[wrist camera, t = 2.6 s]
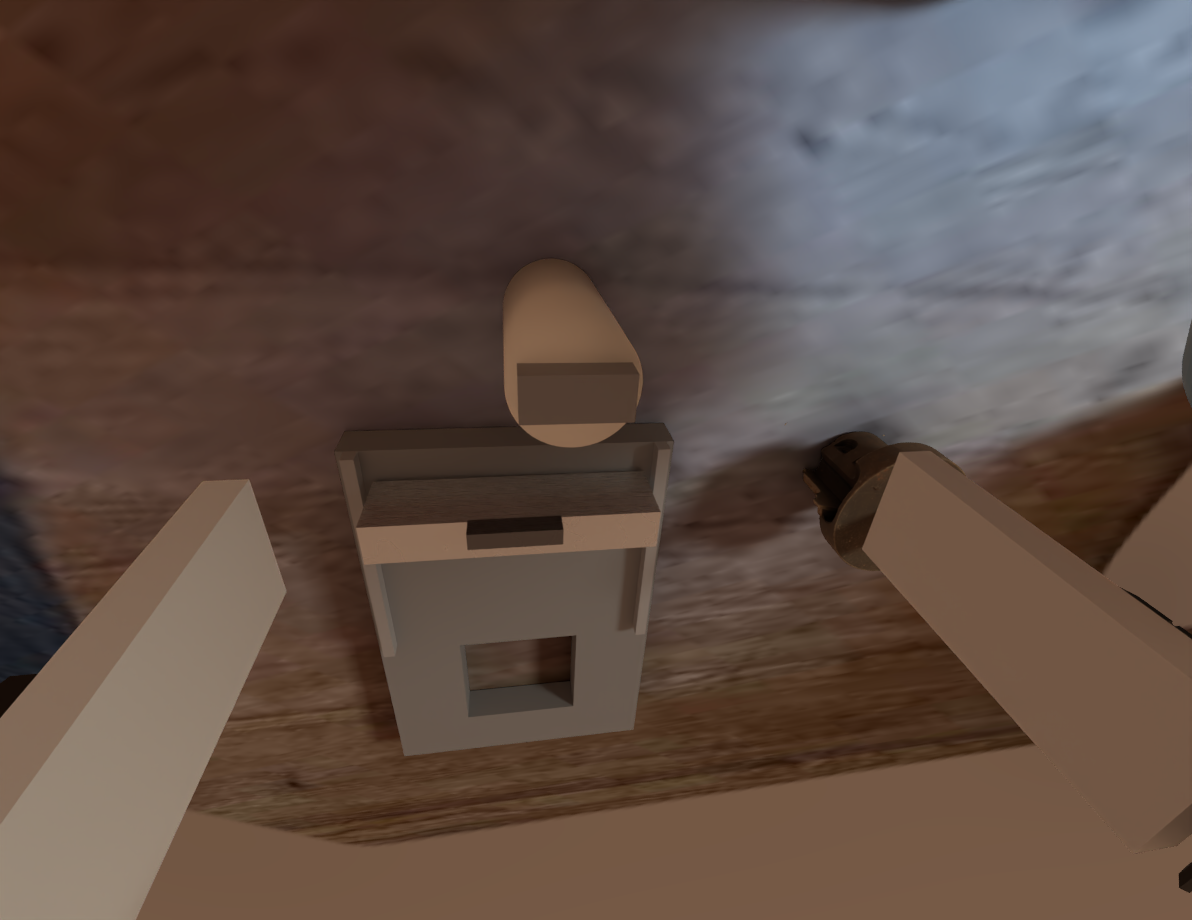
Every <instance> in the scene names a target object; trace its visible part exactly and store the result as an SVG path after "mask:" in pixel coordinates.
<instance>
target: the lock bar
mask: <svg viewBox="0 0 1192 920" xmlns="http://www.w3.org/2000/svg"><path fill="white" fill-rule="evenodd" d="M660 515H661V511H660V509H659V506H658V504H657V502H656V499H655V497H654V495H653V492H652V490H651V488H650V485H649V483H648V481H647V478H646V476H645V474H644V471H627V472H602V473H577V474H552V475H527V476H502V477H477V478H452V479H427V480H402V481H377V482H373V483H372V485H371V488H370V491H369V494H368V496H367V499H366V502H365V504H364V507H363V510H362V513H361V515H360V518H359V521H358V524H357V526H356V531H357V535H358V540H359V544H360V548H361V553H362V557H363V562H364V565H368V564H384V563H400V562H416V561H432V560H448V559H464V558H480V557H496V556H512V555H527V554H543V553H559V552H575V551H591V550H607V549H623V548H639V547H655V546H656V544H657V537H658V529H659V522H660Z"/></svg>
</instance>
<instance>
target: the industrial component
mask: <svg viewBox="0 0 1192 920" xmlns="http://www.w3.org/2000/svg"><path fill="white" fill-rule="evenodd" d="M785 425H786V424H785ZM882 436H885V435H882ZM914 451H931V452H933V453H934V454H936V455H937V456H938V457H940V458H941V459H942V460H944V461H945V462H947V463H948V464H949V465H951V466H952V467H954V468H955V469H956V470H958V471H959V472H960V473H962V474H963V475H965V473H964V472H963V471H962V469H961V468H960V467H959V466H957V465H956V464H955V463H953V462H952V461H951V460H949V459H948V458H946V457H945V456H944V455H942V454H941V453H940V452H938V451H937V450H935V449H934V448H932V447H930V446H927V445H924V444H921V443H897V444H893V445H889V446H888V445H887V444H886V443H885V442H883V441H882V440H881V439H880V438H878V437H877V436H875V435H874V434H871V433H868V432H852V433H848V434H844V435H842V436H840V437H838V438H837V439H836V440H835V441H834V442H832V443H831V445H829V446H826V447H824V448H823V449H822V450H821V455H822V459H821V462H820V465H819V466H818V468H817V469H816V470H815V471H812V470H808V469H804V470H803V472H804V477H803V480H804V482H805V483H806V484H807V485H808V487H809V488H810V489H811V490H812V491H813V492H814V493H815V497H816V498H814V499H813V502H814V504H816V506H817V507H818V514H819V515H820V518H819V519H820V527H821V531H822V534H823V536H824V537H825V539H826V540H827V542H828V543H829V544H830V545H831V547H832V548H833V549H834V550H835V551H836V553H837V554H838V555H839V556H840V558H841V559H842V560H843V561H844V562H846V563H847V564H848V565H850V566H852V567H855V568H857V569H861V570H868V571H880V569H879V568H878V567H877V566H876V565H875V563H874V562H873V561H872V560H871V559H870V558H869V557H868V556H867V554H866V553H865V552H864V551H863V550H862V548H863V545H864V542H865V540H866V537H867V535H868V532H869V529H870V527H871V524H872V522H873V519H874V517H875V514H876V511H877V509H878V506H879V504H880V501H881V499H882V496H883V493H884V491H885V488H886V486H887V483H888V481H889V478H890V475H891V473H892V470H893V468H894V465H895V463H896V460H897V457H898V455H899V452H914ZM965 476H966V475H965Z"/></svg>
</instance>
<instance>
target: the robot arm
mask: <svg viewBox="0 0 1192 920" xmlns="http://www.w3.org/2000/svg"><path fill="white" fill-rule="evenodd" d="M1182 380H1183V385H1184V389H1185V392H1186V395H1187V398H1188V400H1189V403H1190V405H1191V407H1192V321H1191V325H1190V329H1189V333H1188V337H1187V342H1186V346H1185V350H1184V354H1183V361H1182ZM862 550H863V551H864V552H865V553H866V554H867V556H868V557H869V558H870V559H871V560H872V561H873V562H874V563H875V565H876V566H877V567H878V568H879V569H880V570H881V571H882V572H883V574H884V575H885V576H886V577H887V578H888V579H889V580H890V581H891V583H892V584H893V585H894V586H895V587H896V588H897V589H898V590H899V592H900V593H901V594H902V595H903V596H904V597H905V598H906V599H907V601H908V602H909V603H910V604H911V605H912V606H913V607H914V608H915V610H916V611H917V612H918V613H919V614H920V615H921V616H922V617H923V619H924V620H925V621H926V622H927V623H928V624H929V625H930V626H931V628H932V629H933V630H934V631H935V632H936V633H937V634H938V635H939V637H940V638H941V639H942V640H943V641H944V642H945V643H946V644H947V646H948V647H949V648H950V649H951V650H952V651H953V652H954V653H955V654H956V656H957V657H958V658H959V659H960V660H961V661H962V662H963V663H964V665H965V666H966V667H967V668H968V669H969V670H970V671H971V672H972V674H973V675H974V676H975V677H976V678H977V679H978V680H979V681H980V683H981V684H982V685H983V686H984V687H985V688H986V689H987V690H988V692H989V693H990V694H991V695H992V696H993V697H994V698H995V699H996V701H997V702H998V703H999V704H1000V705H1001V706H1002V707H1003V708H1004V710H1005V711H1006V712H1007V713H1008V714H1009V715H1010V716H1011V717H1012V719H1013V720H1014V721H1015V722H1016V723H1017V724H1018V725H1019V726H1020V728H1021V729H1022V730H1023V731H1024V732H1025V733H1026V734H1027V735H1028V737H1029V738H1030V739H1031V740H1032V741H1033V742H1034V743H1035V744H1036V746H1037V747H1038V748H1039V749H1040V750H1041V751H1042V752H1043V753H1044V755H1045V756H1046V757H1047V758H1048V759H1049V760H1050V761H1051V762H1052V764H1053V765H1054V766H1055V767H1056V768H1057V769H1058V770H1059V771H1060V773H1061V774H1062V775H1063V776H1064V777H1065V778H1066V779H1067V780H1068V782H1069V783H1070V784H1071V785H1072V786H1073V787H1074V788H1075V789H1076V790H1077V791H1078V793H1079V794H1080V795H1081V796H1082V797H1083V798H1084V800H1085V801H1086V802H1087V803H1088V804H1089V805H1090V806H1091V807H1092V808H1093V810H1094V811H1095V812H1096V813H1097V814H1098V815H1099V816H1100V818H1101V819H1102V820H1103V821H1104V822H1105V823H1106V824H1107V825H1108V827H1109V828H1110V829H1111V830H1112V831H1113V832H1114V833H1115V834H1116V835H1117V837H1118V838H1119V839H1120V840H1121V841H1122V842H1123V843H1124V845H1125V846H1126V847H1127V848H1128V849H1129V850H1130V851H1131V852H1132V854H1137V853H1142V852H1147V851H1153V850H1157V849H1163V848H1168V847H1174V846H1177V845H1178V844H1180V843H1181V842H1182V841H1183V840H1185V839H1186V838H1187V837H1188V836H1190V835H1191V834H1192V635H1191V634H1190V633H1188V632H1187V631H1186V630H1184V629H1183V628H1181V627H1180V626H1174V625H1173V624H1172V620H1170V619H1169V618H1167V617H1166V616H1165V615H1163V614H1162V613H1160V612H1159V611H1158V610H1156V609H1155V608H1154V607H1152V606H1151V605H1149V604H1148V603H1147V602H1145V601H1144V600H1142V599H1141V598H1140V597H1138V596H1136V595H1134V594H1132V593H1130V592H1128V591H1126V590H1124V589H1123V588H1121V587H1119V586H1117V585H1116V584H1114V583H1113V582H1112V581H1110V580H1109V579H1107V578H1106V577H1105V576H1103V575H1102V574H1101V573H1099V572H1098V571H1096V570H1095V569H1094V568H1092V567H1091V566H1089V565H1088V564H1087V563H1085V562H1084V561H1082V560H1081V559H1080V558H1078V557H1077V556H1076V555H1074V554H1073V553H1071V552H1070V551H1069V550H1067V549H1066V548H1064V547H1063V546H1062V545H1060V544H1059V543H1058V542H1056V541H1055V540H1053V539H1052V538H1051V537H1049V536H1048V535H1046V534H1045V533H1044V532H1042V531H1041V530H1040V529H1038V528H1037V527H1035V526H1034V525H1033V524H1031V523H1030V522H1028V521H1027V520H1026V519H1024V518H1023V517H1021V516H1020V515H1019V514H1017V513H1016V512H1015V511H1013V510H1012V509H1010V508H1009V507H1008V506H1006V505H1005V504H1003V503H1002V502H1001V501H999V500H998V499H997V498H995V497H994V496H992V495H991V494H990V493H988V492H987V491H985V490H984V489H983V488H981V487H980V486H978V485H977V484H976V483H974V482H973V481H972V480H970V479H969V478H967V477H966V476H965V475H963V474H962V473H960V472H959V471H958V470H956V469H955V468H954V467H952V466H951V465H949V464H948V463H947V462H945V461H944V460H942V459H941V458H940V457H938V456H937V455H936V454H934V453H933V452H931V451H914V452H899V455H898V457H897V460H896V463H895V465H894V468H893V470H892V473H891V475H890V478H889V481H888V483H887V486H886V488H885V491H884V493H883V496H882V499H881V501H880V504H879V506H878V509H877V511H876V514H875V517H874V519H873V522H872V524H871V527H870V529H869V532H868V535H867V537H866V540H865V542H864V545H863V548H862ZM286 592H287V591H286V588H285V585H284V582H283V579H282V576H281V573H280V570H279V567H278V564H277V561H276V558H275V555H274V552H273V549H272V546H271V543H270V540H269V537H268V534H267V531H266V528H265V525H264V522H263V519H262V516H261V513H260V510H259V507H258V504H257V501H256V498H255V495H254V492H253V489H252V486H251V483H250V480H249V479H241V480H217V481H202V482H201V483H200V484H199V486H198V487H197V488H196V489H195V490H194V491H193V493H192V494H191V495H190V496H189V497H188V498H187V500H186V501H185V502H184V503H183V504H182V506H181V507H180V508H179V509H178V510H177V511H176V513H175V514H174V515H173V516H172V517H171V518H170V520H169V521H168V522H167V523H166V524H165V525H164V527H163V528H162V529H161V530H160V531H159V533H158V534H157V535H156V536H155V537H154V538H153V540H152V541H151V542H150V543H149V544H148V545H147V547H146V548H145V549H144V550H143V551H142V552H141V554H140V555H139V556H138V557H137V558H136V559H135V561H134V562H133V563H132V564H131V565H130V567H129V568H128V569H127V570H126V571H125V572H124V574H123V575H122V576H121V577H120V578H119V579H118V581H117V582H116V583H115V584H114V585H113V586H112V588H111V589H110V590H109V591H108V592H107V593H106V595H105V596H104V597H103V598H102V599H101V601H100V602H99V603H98V604H97V605H96V606H95V608H94V609H93V610H92V611H91V612H90V613H89V615H88V616H87V617H86V618H85V619H84V620H83V622H82V623H81V624H80V625H79V626H78V628H77V629H76V630H75V631H74V632H73V633H72V635H71V636H70V637H69V638H68V639H67V640H66V642H65V643H64V644H63V645H62V646H61V647H60V649H59V650H58V651H57V652H56V653H55V654H54V656H53V657H52V658H51V659H50V660H49V662H48V663H47V664H46V665H45V666H44V667H43V669H42V670H41V671H40V672H39V673H38V674H31V675H20V676H10V677H9V678H7V679H6V680H4V681H3V682H2V683H0V920H136V918H137V915H138V913H139V911H140V908H141V907H142V905H143V902H144V900H145V898H146V896H147V894H148V891H149V889H150V887H151V885H152V883H153V881H154V878H155V876H156V874H157V872H158V870H159V868H160V865H161V863H162V861H163V859H164V856H165V855H166V852H167V850H168V848H169V846H170V844H171V841H172V839H173V837H174V835H175V833H176V831H177V828H178V826H179V824H180V822H181V820H182V817H183V815H184V813H185V811H186V809H187V807H188V805H189V802H190V800H191V798H192V796H193V794H194V791H195V789H196V787H197V785H198V783H199V781H200V778H201V776H202V774H203V772H204V770H205V768H206V765H207V763H208V761H209V759H210V757H211V755H212V752H213V750H214V748H215V746H216V744H217V742H218V739H219V737H220V735H221V733H222V731H223V728H224V726H225V724H226V722H227V720H228V718H229V715H230V713H231V711H232V709H233V707H234V705H235V702H236V700H237V698H238V696H239V694H240V692H241V689H242V687H243V685H244V683H245V681H246V678H247V676H248V674H249V672H250V670H251V668H252V665H253V663H254V661H255V659H256V657H257V655H258V652H259V650H260V648H261V646H262V644H263V642H264V639H265V637H266V635H267V633H268V631H269V628H270V626H271V624H272V622H273V620H274V618H275V615H276V613H277V611H278V609H279V607H280V605H281V602H282V600H283V598H284V596H285V594H286ZM1179 888H1181V889H1183V890H1185V891H1187V892H1189V893H1190V892H1191V891H1192V863H1190V864H1189V865H1188V866H1186V867H1185V868H1184V869H1183V870H1182V871H1181V872H1180V873H1179Z"/></svg>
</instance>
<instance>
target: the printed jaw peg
mask: <svg viewBox="0 0 1192 920" xmlns="http://www.w3.org/2000/svg"><path fill="white" fill-rule="evenodd" d="M503 346H504V390H505V398H506V401H507V405H508V407H509V410H510V412H511V414H512V416H513V417H514V419H515V420H516V422H517V423H518V424H519V425H520V427H522V428H523V429H524V430H525V431H526V432H527V433H528V434H530V435H531V436H532V437H534V438H536V439H538V440H540V441H542V442H544V443H547V444H550V445H554V446H559V447H572V448H573V447H583V446H588V445H591V444H595V443H598V442H600V441H602V440H604V439H606V438H608V437H610V436H611V435H613V434H614V433H615V432H617V431H618V430H619V429H620V428H621V427H622V426H623V425H625V424H626V423H634V422H635V418H636V407H637V405H638V403H639V400H640V397H641V393H642V387H643V373H642V367H641V363H640V360H639V357H638V355H637V353H636V351H635V349H634V348H633V346H632V344H631V343H630V341H629V340H628V338H627V336H626V335H625V333H624V332H623V330H622V328H621V327H620V325H619V324H618V322H617V321H616V319H615V317H614V316H613V314H612V313H611V311H610V309H609V308H608V306H607V305H606V303H605V301H604V300H603V298H602V297H601V295H600V294H599V292H598V290H597V289H596V287H595V286H594V284H593V282H592V281H591V279H590V278H589V277H588V275H587V274H586V273H585V272H584V271H583V270H582V269H580V268H579V267H577V266H576V265H574V264H572V263H570V262H567V261H565V260H561V259H553V258H550V259H541V260H537V261H534V262H532V263H530V264H528V265H526V266H524V267H523V268H521V269H520V270H519V271H518V272H517V273H516V274H515V275H514V276H513V278H512V279H511V281H510V282H509V284H508V286H507V288H506V291H505V294H504V299H503Z"/></svg>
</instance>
